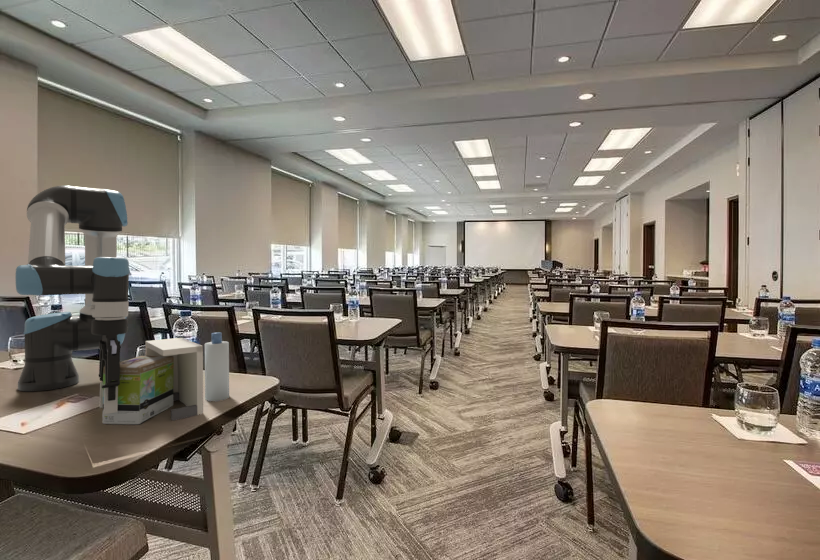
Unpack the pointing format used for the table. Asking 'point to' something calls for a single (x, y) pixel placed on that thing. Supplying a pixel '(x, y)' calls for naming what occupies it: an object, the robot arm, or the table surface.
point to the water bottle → (216, 368)
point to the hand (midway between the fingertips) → (108, 409)
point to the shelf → (183, 367)
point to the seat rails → (182, 410)
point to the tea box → (142, 389)
